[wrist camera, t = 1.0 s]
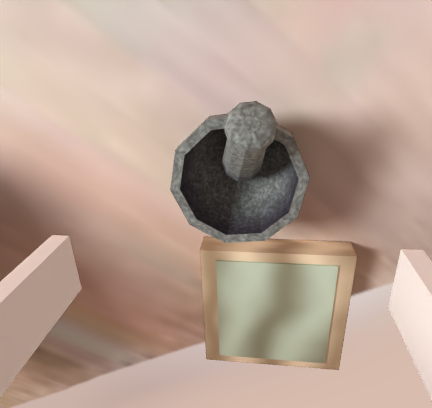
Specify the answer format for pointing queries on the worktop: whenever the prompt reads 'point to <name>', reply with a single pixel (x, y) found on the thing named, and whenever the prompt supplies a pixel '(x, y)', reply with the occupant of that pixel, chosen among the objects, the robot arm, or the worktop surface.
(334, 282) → the beige flat pad
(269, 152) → the mortar and pestle
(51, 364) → the worktop surface
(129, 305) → the worktop surface
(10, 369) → the robot arm
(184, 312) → the worktop surface
